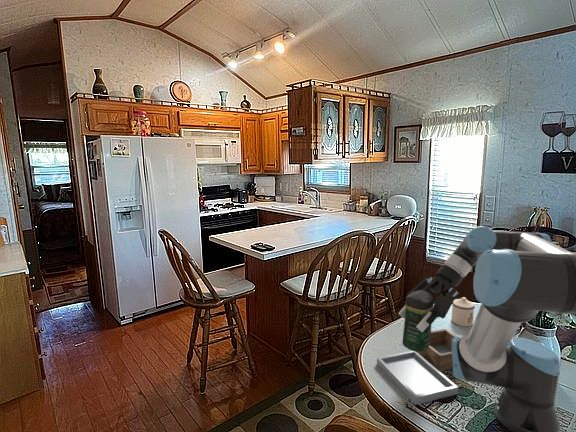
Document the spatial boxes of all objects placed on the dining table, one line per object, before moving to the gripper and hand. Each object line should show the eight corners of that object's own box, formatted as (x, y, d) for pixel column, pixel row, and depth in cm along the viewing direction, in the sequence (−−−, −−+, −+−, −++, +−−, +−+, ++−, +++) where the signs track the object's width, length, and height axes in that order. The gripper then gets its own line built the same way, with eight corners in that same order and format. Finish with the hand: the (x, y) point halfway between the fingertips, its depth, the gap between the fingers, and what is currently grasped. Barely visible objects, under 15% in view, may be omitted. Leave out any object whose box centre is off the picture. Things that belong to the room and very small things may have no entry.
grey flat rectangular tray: (457, 394, 112) (458, 387, 112) (414, 404, 107) (415, 397, 107) (414, 356, 133) (414, 350, 132) (376, 363, 128) (377, 357, 128)
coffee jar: (422, 356, 112) (426, 301, 108) (399, 346, 117) (401, 294, 114) (434, 343, 119) (437, 292, 115) (411, 335, 124) (414, 286, 121)
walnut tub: (473, 363, 128) (474, 348, 127) (439, 371, 123) (440, 355, 122) (444, 342, 142) (445, 328, 141) (412, 348, 138) (413, 334, 136)
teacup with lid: (472, 329, 152) (474, 303, 150) (449, 323, 157) (451, 299, 155) (474, 317, 162) (476, 294, 160) (452, 313, 167) (454, 290, 165)
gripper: (485, 289, 108) (438, 345, 107) (436, 267, 129) (397, 314, 127) (473, 275, 106) (425, 332, 104) (425, 255, 126) (384, 302, 125)
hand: (409, 322), depth 116 cm, fingers closed on coffee jar, 9 cm apart
